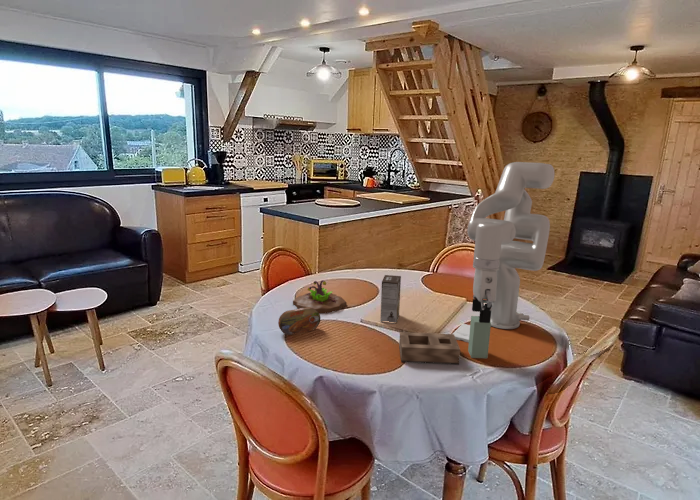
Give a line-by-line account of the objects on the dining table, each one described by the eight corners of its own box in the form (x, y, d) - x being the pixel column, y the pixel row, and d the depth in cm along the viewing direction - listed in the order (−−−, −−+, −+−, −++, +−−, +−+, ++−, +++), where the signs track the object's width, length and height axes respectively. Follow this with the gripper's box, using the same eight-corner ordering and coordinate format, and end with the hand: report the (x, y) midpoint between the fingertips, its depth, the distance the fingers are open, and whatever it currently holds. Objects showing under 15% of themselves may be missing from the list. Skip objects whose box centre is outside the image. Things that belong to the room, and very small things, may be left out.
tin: (280, 337, 151) (280, 314, 149) (277, 333, 154) (277, 310, 152) (320, 329, 158) (320, 307, 156) (317, 326, 160) (317, 304, 158)
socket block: (452, 348, 145) (453, 334, 144) (459, 364, 134) (460, 349, 133) (399, 346, 146) (399, 332, 145) (401, 362, 135) (401, 347, 134)
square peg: (483, 351, 143) (487, 316, 141) (487, 358, 139) (491, 322, 136) (468, 350, 144) (471, 315, 141) (471, 357, 139) (474, 322, 136)
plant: (315, 318, 168) (315, 290, 166) (286, 304, 183) (286, 278, 180) (354, 306, 181) (354, 280, 179) (324, 294, 196) (324, 270, 193)
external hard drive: (484, 332, 159) (473, 345, 149) (462, 327, 163) (450, 339, 153) (484, 328, 159) (473, 340, 148) (462, 323, 163) (450, 334, 153)
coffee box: (383, 313, 174) (384, 274, 170) (399, 315, 172) (401, 275, 169) (379, 322, 165) (381, 281, 161) (397, 324, 164) (399, 282, 160)
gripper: (507, 271, 125) (500, 327, 129) (491, 257, 142) (485, 307, 146) (480, 269, 126) (474, 326, 129) (467, 256, 143) (462, 306, 146)
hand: (480, 316), depth 137 cm, fingers open, 9 cm apart
